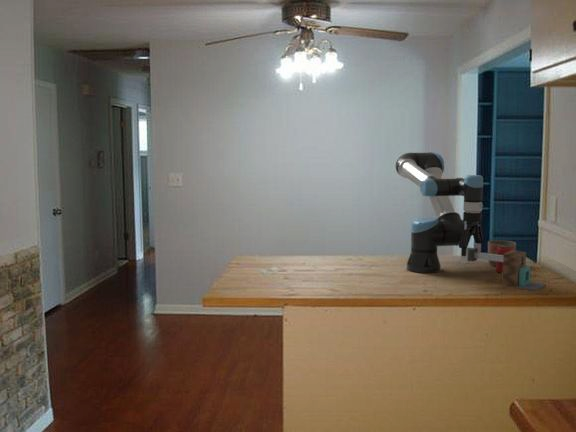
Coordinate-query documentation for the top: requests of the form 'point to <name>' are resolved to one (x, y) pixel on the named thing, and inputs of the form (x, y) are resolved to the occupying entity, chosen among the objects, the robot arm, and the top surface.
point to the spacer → (524, 276)
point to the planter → (494, 245)
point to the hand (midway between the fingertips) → (470, 260)
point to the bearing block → (512, 267)
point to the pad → (532, 286)
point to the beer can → (501, 251)
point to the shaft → (483, 255)
